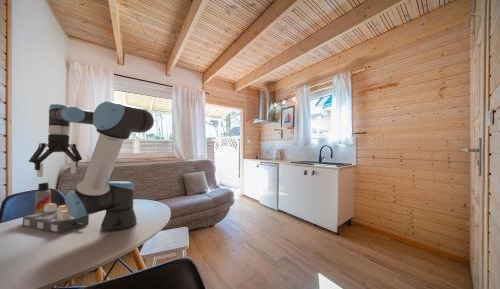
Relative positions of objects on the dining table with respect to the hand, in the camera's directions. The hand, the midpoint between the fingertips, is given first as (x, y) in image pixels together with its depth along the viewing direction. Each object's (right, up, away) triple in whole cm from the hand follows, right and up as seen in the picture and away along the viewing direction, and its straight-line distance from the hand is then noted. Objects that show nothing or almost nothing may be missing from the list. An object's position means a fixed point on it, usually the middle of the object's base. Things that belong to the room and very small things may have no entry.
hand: (57, 174), depth 92 cm
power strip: (+2, -26, -1) cm, 26 cm away
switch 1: (+9, -21, -5) cm, 23 cm away
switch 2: (+1, -21, +2) cm, 21 cm away
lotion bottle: (-19, -26, +9) cm, 34 cm away
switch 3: (-9, -21, +5) cm, 23 cm away
